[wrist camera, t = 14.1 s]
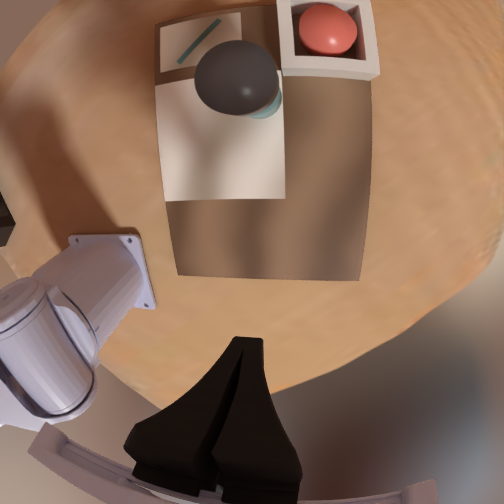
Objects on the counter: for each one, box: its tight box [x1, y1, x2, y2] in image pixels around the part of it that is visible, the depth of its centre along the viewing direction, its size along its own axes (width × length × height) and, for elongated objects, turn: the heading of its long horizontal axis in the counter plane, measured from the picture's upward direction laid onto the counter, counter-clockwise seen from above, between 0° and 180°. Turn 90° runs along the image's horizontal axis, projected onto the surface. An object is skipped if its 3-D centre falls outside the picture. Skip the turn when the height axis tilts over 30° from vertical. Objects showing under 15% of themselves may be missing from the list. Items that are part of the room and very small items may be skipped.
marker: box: [194, 40, 282, 119], centre depth 12 cm, size 3×3×8 cm
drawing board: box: [155, 5, 372, 281], centre depth 18 cm, size 15×21×1 cm
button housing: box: [276, 0, 380, 81], centre depth 12 cm, size 6×6×2 cm
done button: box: [299, 5, 357, 58], centre depth 12 cm, size 3×3×2 cm
